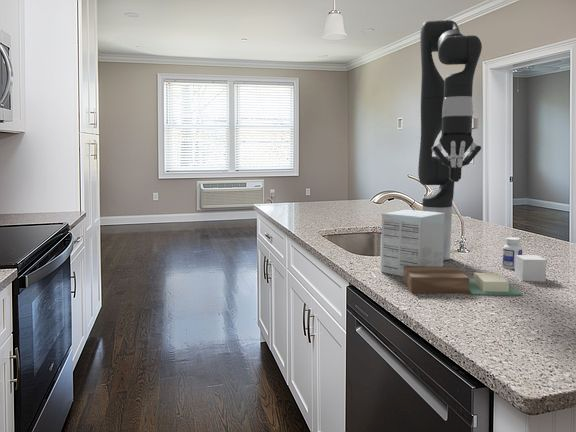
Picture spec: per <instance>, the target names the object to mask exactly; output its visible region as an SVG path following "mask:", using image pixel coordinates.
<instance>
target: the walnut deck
mask: <svg viewBox="0 0 576 432" xmlns="http://www.w3.org/2000/svg"><path fill="white" fill-rule="evenodd" d="M402 279H403V282H404V284H405V285H406V287H407V289H408V291H409V292H410V293H411V294H455V295H456V294H458V295H459V294H463V295H465V294H466V295H467V294H468V295H469V294H470V293H469V279H470V277H469V276H468V275H467V274H465V272H463V271H462V270H461V269H460V268H459V267H457V266H443V267H436V266H404V276H403V278H402Z"/></svg>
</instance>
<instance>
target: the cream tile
mask: <svg viewBox="0 0 576 432" xmlns="http://www.w3.org/2000/svg"><path fill="white" fill-rule="evenodd" d="M473 279H474V283H475V284H476V285H477V286H478V287H479V288H481V289H482V290H483V291H495V292H509V285H510V281H509V280H508V279H506V278H504V277H503V276H502V275H501V274H499V273H498V272H473Z"/></svg>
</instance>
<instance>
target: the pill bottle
mask: <svg viewBox="0 0 576 432" xmlns="http://www.w3.org/2000/svg"><path fill="white" fill-rule="evenodd" d="M505 243H506V244H504V245H503V247H502V267H503V269H504V268H505V269H509V270H515V257H516V255H523V246H522V245H520V244H521V238H520V237H505Z"/></svg>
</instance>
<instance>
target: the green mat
mask: <svg viewBox="0 0 576 432" xmlns="http://www.w3.org/2000/svg"><path fill="white" fill-rule="evenodd" d="M469 294H470V295H472V296H523V293H522V292H520V291H519V290H518V289H517V288H515V287H514V286H513V285H511V284H509V292H495V291H483V290H482V289H481V288H479V287H478V286H477V285H476V284H475V283H474V278H469Z"/></svg>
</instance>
